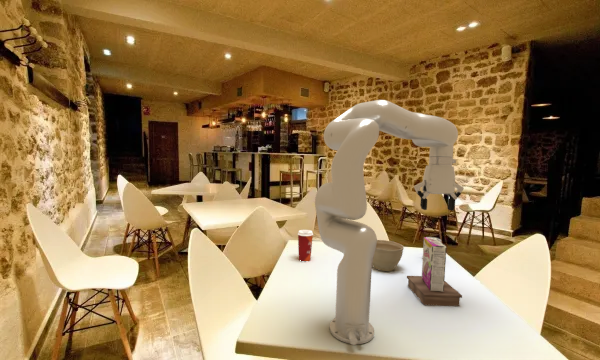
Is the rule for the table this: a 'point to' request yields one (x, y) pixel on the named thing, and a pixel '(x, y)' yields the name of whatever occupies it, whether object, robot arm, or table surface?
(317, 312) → the table surface
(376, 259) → the planter bowl
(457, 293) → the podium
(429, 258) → the candy bar box
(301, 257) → the paper cup
